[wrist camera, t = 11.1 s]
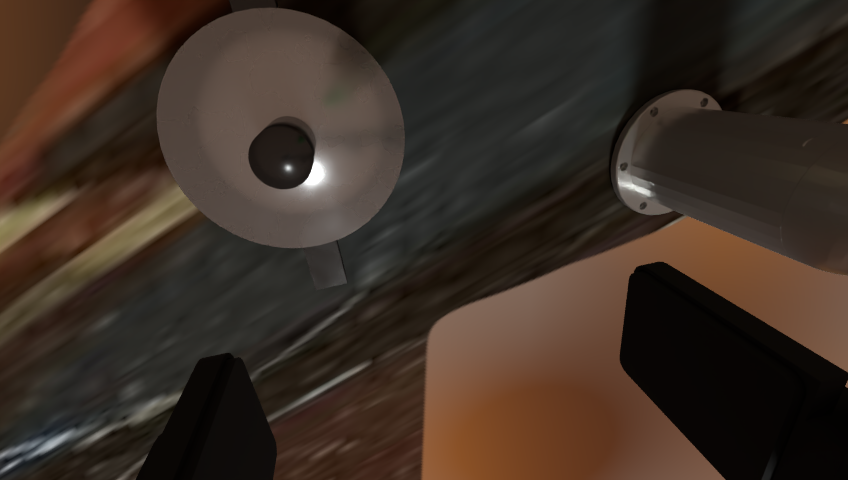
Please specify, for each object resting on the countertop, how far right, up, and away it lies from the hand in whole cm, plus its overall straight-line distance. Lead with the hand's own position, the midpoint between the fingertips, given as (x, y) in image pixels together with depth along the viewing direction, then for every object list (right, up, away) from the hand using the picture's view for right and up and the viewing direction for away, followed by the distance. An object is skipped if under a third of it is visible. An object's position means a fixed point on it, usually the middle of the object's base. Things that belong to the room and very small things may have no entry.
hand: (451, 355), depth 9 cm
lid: (-9, +9, +15) cm, 20 cm away
